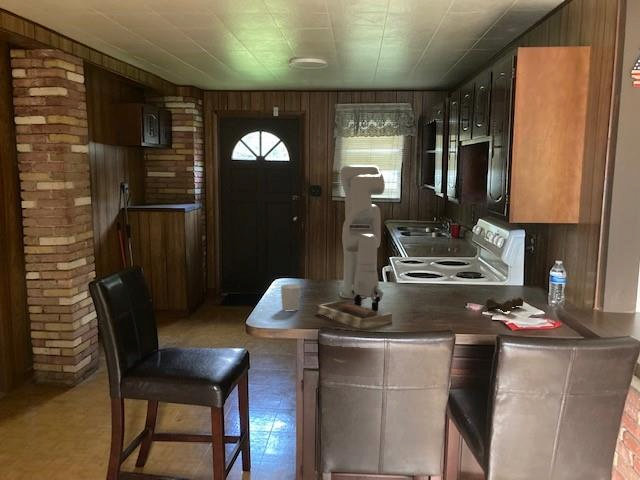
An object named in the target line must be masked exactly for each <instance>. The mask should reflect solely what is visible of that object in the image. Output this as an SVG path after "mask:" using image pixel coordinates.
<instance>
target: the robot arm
mask: <svg viewBox="0 0 640 480" xmlns="http://www.w3.org/2000/svg"><path fill="white" fill-rule="evenodd" d="M339 176H340V182H341V183H340V184H341V185H342V188H343V192H344V199H345V201H344V207H345V209H344V210H345V211H344V216H345V217H344V218H345V220H344V222H343V225H342V234H341V240H342V241H341V242H342V247H343V281H342V283H341V285H339V286H338V289H340V290H341V292H340V293H339V296H340V297H341V298H344V299H347V298H348V299H349V300H354V304H355V305H358V306H361V307H362V299H365V298H370V299H371V301H372V302H371V310H373V311H376V312H377V313H378V312H379V302H380V301H381V300H382V298H383V296H384V292H383V291H382V290H381V289H380V287H379V273H378V271H377V270H378V269H377V264H378V263H377V261H378V248H379V247H380V246H381V241H382V240H381V239H382V238H381V233H382V232H381V231H382V230H381V225H382V224H381V220H382V219H381V209H380V208H379V206H378V205H376V204H374V203H372V201H373V200H372V196H380V195H383V194H384V191H385V189H386V188H385V187H386V186H385V185H386V184H385V183H386V182H385V179H384V176H383V173H382V171H381V169H380V167H379V166H378V165H373V164H371V165H368V164H367V165H366V164H364V165H363V164H350V165H345V166H342V168H341V169H340V175H339ZM351 226H369V227H351Z"/></svg>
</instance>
